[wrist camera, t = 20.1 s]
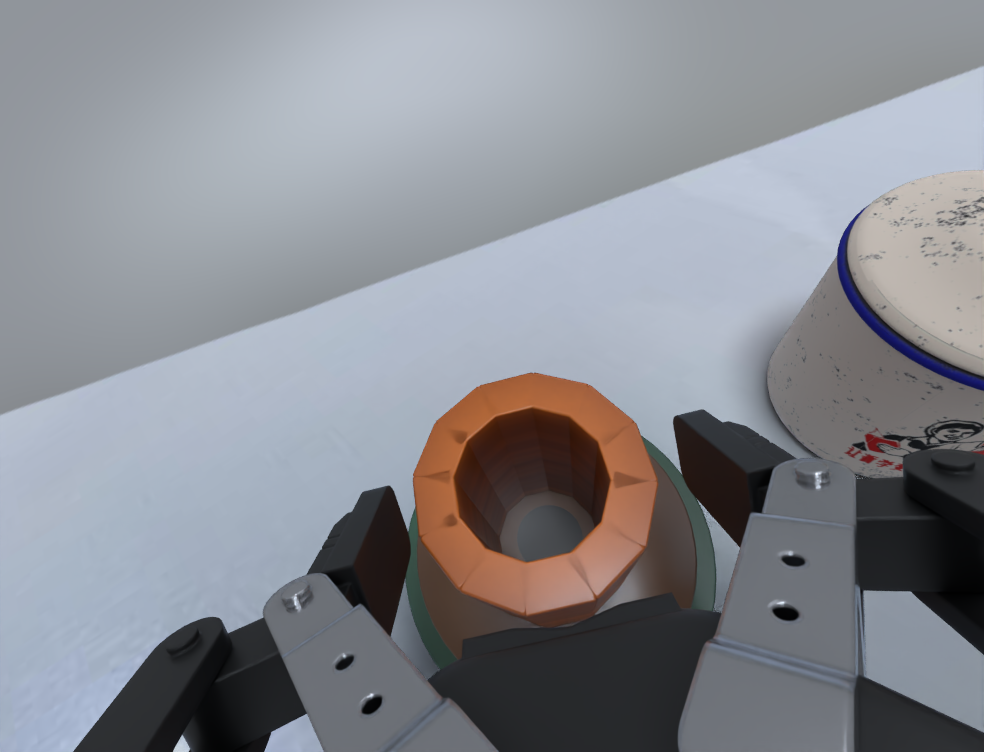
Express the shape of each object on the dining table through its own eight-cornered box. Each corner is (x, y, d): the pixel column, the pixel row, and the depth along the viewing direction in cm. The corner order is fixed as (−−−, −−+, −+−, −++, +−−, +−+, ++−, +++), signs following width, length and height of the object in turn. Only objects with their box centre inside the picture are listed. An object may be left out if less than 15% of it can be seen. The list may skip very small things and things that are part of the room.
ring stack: (598, 378, 25) (600, 348, 22) (779, 624, 18) (812, 621, 16) (378, 494, 24) (354, 475, 21) (487, 801, 17) (470, 829, 15)
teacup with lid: (830, 515, 20) (1078, 386, 10) (724, 348, 25) (822, 147, 15) (1103, 435, 20) (1633, 223, 10) (944, 282, 25) (1194, 34, 15)
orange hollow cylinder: (599, 452, 20) (608, 352, 13) (649, 605, 17) (697, 578, 10) (463, 485, 20) (403, 403, 13) (489, 641, 17) (428, 639, 10)
